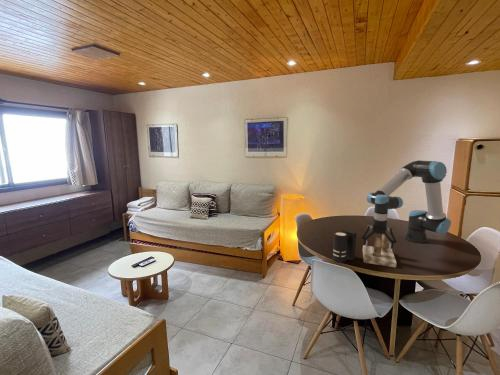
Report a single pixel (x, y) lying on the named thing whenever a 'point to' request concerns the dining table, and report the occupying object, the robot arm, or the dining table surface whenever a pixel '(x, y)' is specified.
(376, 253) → the oak peg
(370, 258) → the seat board
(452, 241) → the dining table surface
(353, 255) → the striped black canister
